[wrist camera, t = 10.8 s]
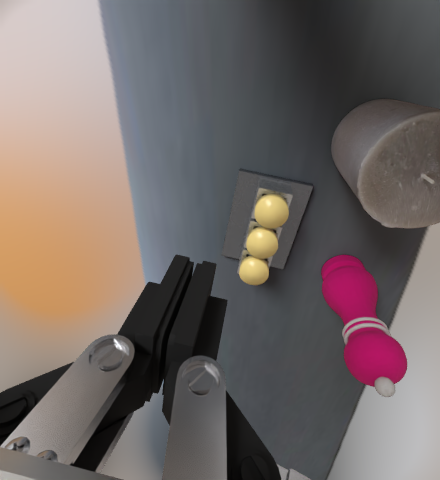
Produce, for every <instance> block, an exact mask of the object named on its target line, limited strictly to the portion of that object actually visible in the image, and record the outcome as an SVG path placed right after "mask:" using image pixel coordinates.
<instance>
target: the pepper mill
mask: <svg viewBox="0 0 440 480" xmlns="http://www.w3.org/2000/svg"><path fill="white" fill-rule="evenodd" d="M321 275H322V279H323V284H322V293H323V295H324V298H325V300H326V302H327V303H328V305H329V306H330V307H331V308H332V310H334V311H335V312H336V313H337V314H338V315H339V316H340V317H341V318H342V320H343V322H344V326H345V327H344V328H343V331H342V335H343V338H344V342H345V345H346V346H345V349H344V360H345V362H346V365H347V367H348V369H349V371H350V372H351V374H352V375H353V376H354V377H355V378H356V379H357V380H359V381H360V382H362V383H364V384H366V385H370V386H373V387H375V389H376V391H377V392H378V393H379V394H380V395H382V396H384V397H390V396H392V395H393V394H394V393H395V385H394V384H395V383H397V382H399V381H400V380H401V379H402V378H403V377H404V375H405V373H406V370H407V359H406V356H405V353H404V350H403V348H402V347H401V346H400V344H399V343H398V342H397V341H396V340H395V339H393V338H392V337H391V334H390V332H389V331H388V328H387V326H386V324H385V323H384V322H382V321H381V320H379V319H378V318H377V315H376V310H375V309H376V303H377V299H378V289H377V285H376V282H375V280H374V278H373V276H372V275H371V274H370V273H369V272H367V271H366V270H365V268H364V266H363V264H362V262H361V261H360V260H359V259H357V258H356V257H353V256H350V255H339V256H335V257H333V258H331V259H329V260H328V261H327V262H326V263H325V264H324V265H323V267H322V270H321Z"/></svg>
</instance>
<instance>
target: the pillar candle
mask: <svg viewBox="0 0 440 480" xmlns="http://www.w3.org/2000/svg"><path fill="white" fill-rule="evenodd" d="M331 153H332V158H333V161H334V163H335V166H336V167H337V169H338V170H339V172H340V173H341V175H342V177H343V178H344V179H345V181H346V182H347V184H348V185H349V186H350V188H351V189H352V191H353V192H354V194H355V195H356V197H357V198H358V199H359V201H360V203H361V204H362V206H363V209H364V210H365V211H366V212H367V213H368V214H369V215H370V216H371V217H372V218H373V219H375V220H377V221H379V222H381V224H382V225H384V226H385V227H389V228H394V227H397V228H406V229H408V228H420V227H426V226H430V225H433V224H436V223H439V222H440V109H437V108H432V107H427V106H422V105H418V104H414V103H409V102H404V101H399V100H394V99H376V100H371V101H368V102H365V103H363V104H361V105H359V106H357V107H356V108H354V109H353V110H352V111H350V112H349V113H348V114H347V115H346V116H345V117H344V118H343V119H342V121H341V122H340V123H339V125H338V126H337V128H336V130H335V132H334V135H333V138H332V143H331Z"/></svg>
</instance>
